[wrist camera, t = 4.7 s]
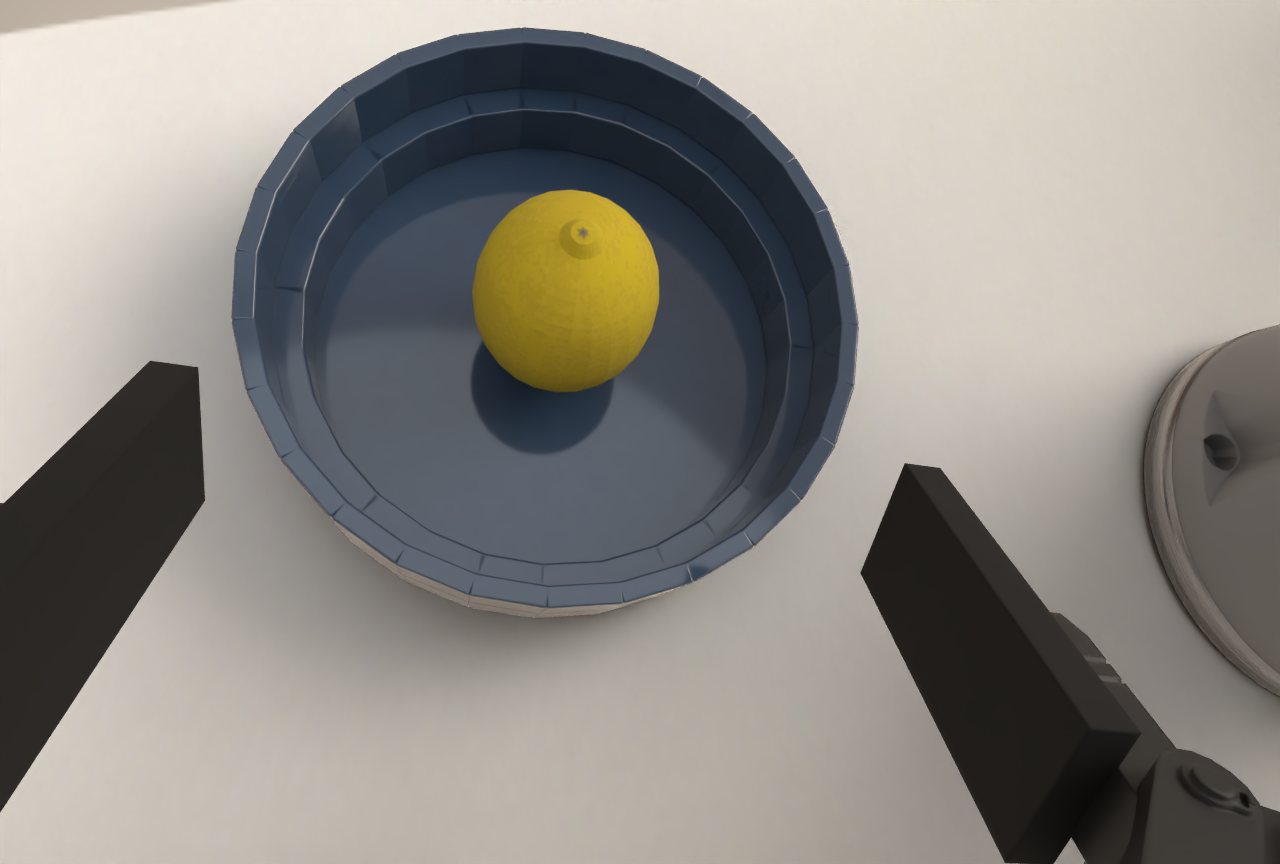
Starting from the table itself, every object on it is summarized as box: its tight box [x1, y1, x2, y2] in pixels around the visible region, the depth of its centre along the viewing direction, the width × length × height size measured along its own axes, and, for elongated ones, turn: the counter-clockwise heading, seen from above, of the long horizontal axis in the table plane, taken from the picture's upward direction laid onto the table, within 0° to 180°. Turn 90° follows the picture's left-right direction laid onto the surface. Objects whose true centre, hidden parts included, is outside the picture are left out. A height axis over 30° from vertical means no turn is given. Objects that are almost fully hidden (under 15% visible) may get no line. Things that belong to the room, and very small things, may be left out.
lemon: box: [472, 190, 659, 392], centre depth 25 cm, size 6×6×8 cm
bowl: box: [231, 27, 859, 618], centre depth 27 cm, size 18×18×5 cm
